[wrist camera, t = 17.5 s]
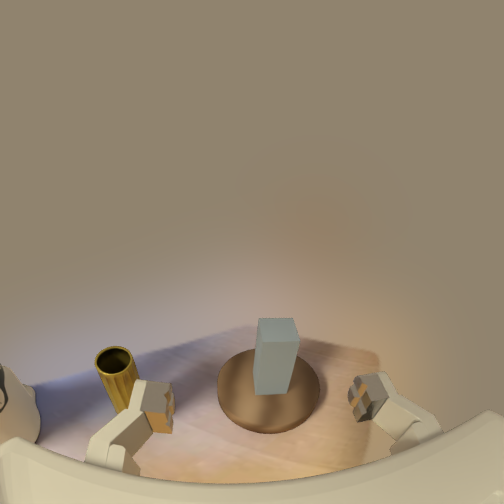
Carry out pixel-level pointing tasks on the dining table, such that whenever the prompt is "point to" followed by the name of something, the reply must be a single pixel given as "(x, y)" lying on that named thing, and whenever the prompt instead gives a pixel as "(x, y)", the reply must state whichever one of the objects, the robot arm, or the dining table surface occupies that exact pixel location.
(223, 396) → the walnut base
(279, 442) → the dining table surface
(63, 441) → the dining table surface
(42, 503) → the robot arm
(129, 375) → the vase
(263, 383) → the gray block
